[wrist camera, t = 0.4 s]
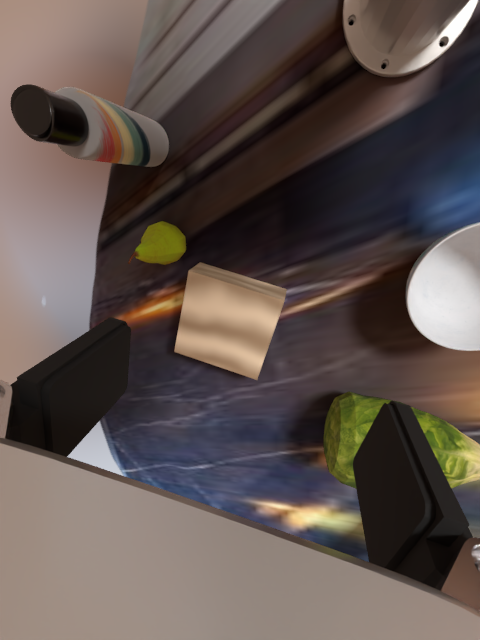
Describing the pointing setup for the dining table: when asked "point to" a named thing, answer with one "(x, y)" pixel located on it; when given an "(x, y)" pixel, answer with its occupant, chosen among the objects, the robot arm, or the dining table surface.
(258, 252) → the dining table surface
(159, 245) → the fruit
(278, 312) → the plinth
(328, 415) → the lettuce
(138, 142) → the lotion bottle
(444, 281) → the chinaware
